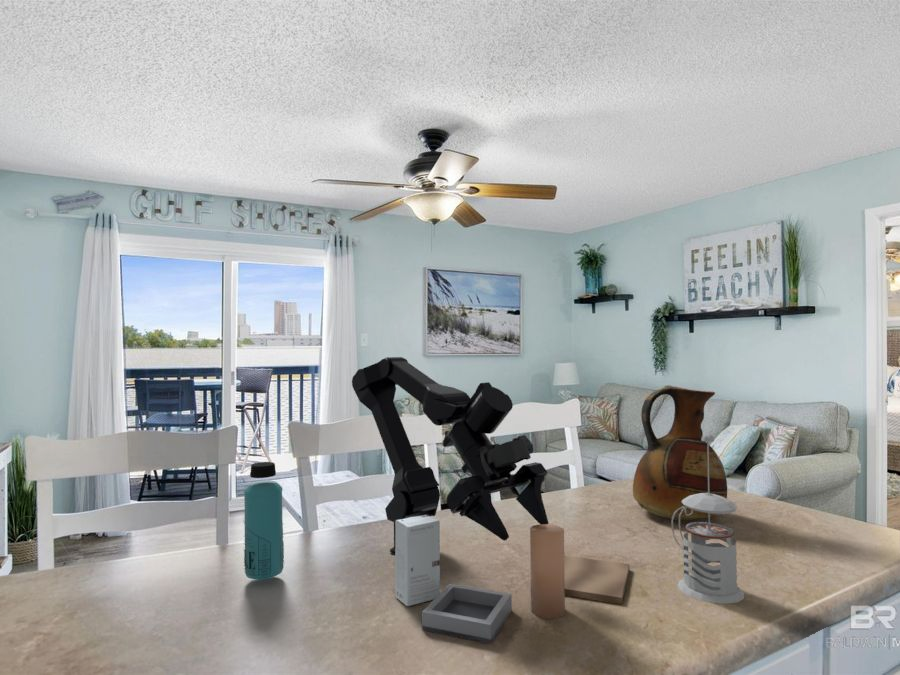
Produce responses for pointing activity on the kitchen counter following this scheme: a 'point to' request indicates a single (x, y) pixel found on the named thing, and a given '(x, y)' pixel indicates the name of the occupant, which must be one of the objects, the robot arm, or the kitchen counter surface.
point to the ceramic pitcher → (677, 458)
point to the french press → (709, 550)
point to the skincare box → (417, 559)
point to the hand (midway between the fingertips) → (527, 532)
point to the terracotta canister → (547, 571)
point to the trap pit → (467, 613)
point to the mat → (595, 579)
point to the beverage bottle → (263, 524)
